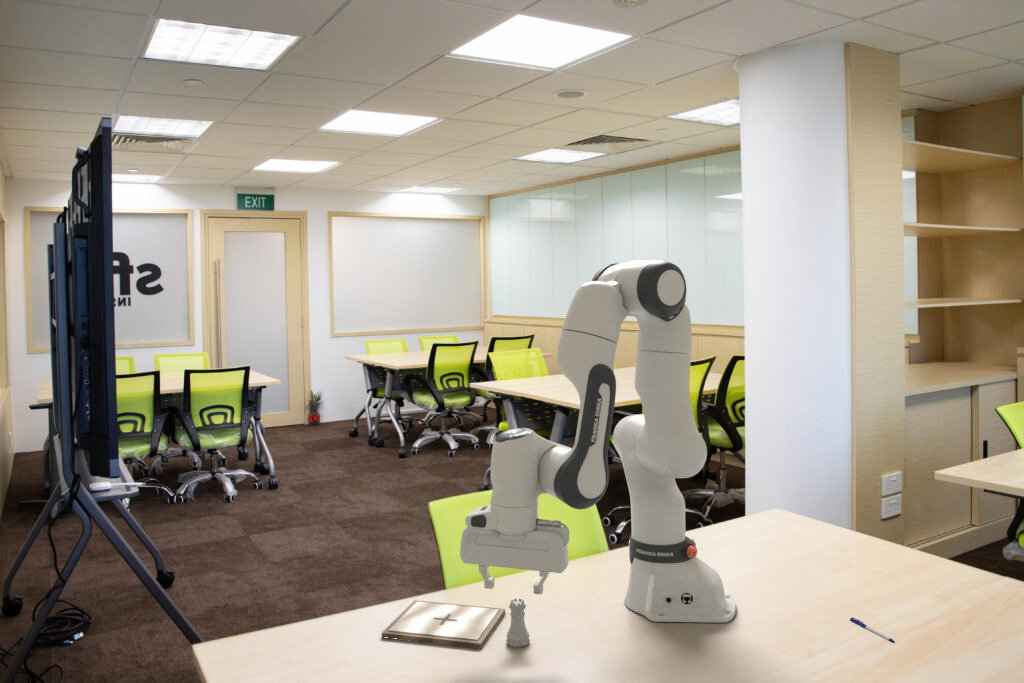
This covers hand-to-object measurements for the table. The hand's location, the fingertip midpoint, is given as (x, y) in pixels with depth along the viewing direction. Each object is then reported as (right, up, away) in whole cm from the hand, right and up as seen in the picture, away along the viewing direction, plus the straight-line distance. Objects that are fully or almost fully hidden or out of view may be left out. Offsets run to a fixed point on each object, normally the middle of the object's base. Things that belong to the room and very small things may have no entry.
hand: (513, 590), depth 141 cm
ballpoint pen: (+68, -9, +3) cm, 69 cm away
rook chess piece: (+1, -10, +1) cm, 10 cm away
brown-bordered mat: (-13, -10, +9) cm, 19 cm away
